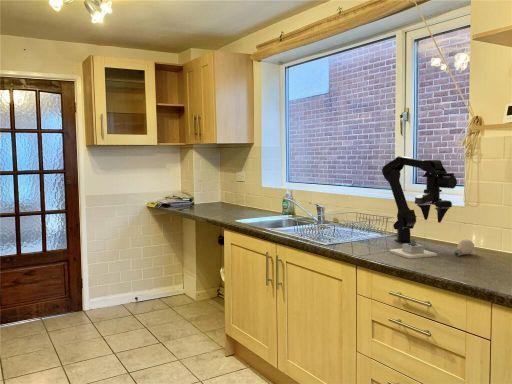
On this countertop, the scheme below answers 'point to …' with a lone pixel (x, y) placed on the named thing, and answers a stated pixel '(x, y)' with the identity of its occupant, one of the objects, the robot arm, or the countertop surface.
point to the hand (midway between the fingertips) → (432, 221)
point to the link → (413, 248)
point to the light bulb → (464, 247)
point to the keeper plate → (414, 255)
